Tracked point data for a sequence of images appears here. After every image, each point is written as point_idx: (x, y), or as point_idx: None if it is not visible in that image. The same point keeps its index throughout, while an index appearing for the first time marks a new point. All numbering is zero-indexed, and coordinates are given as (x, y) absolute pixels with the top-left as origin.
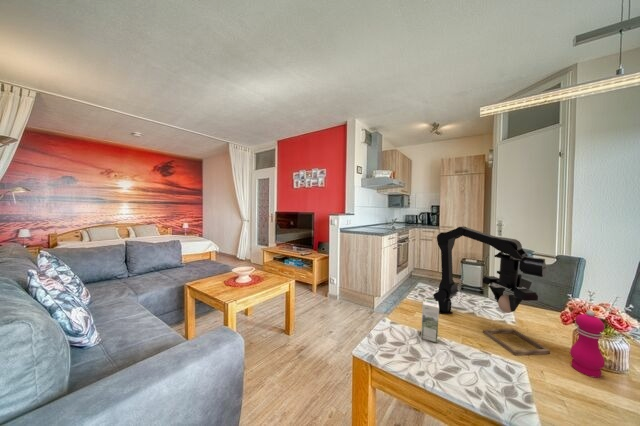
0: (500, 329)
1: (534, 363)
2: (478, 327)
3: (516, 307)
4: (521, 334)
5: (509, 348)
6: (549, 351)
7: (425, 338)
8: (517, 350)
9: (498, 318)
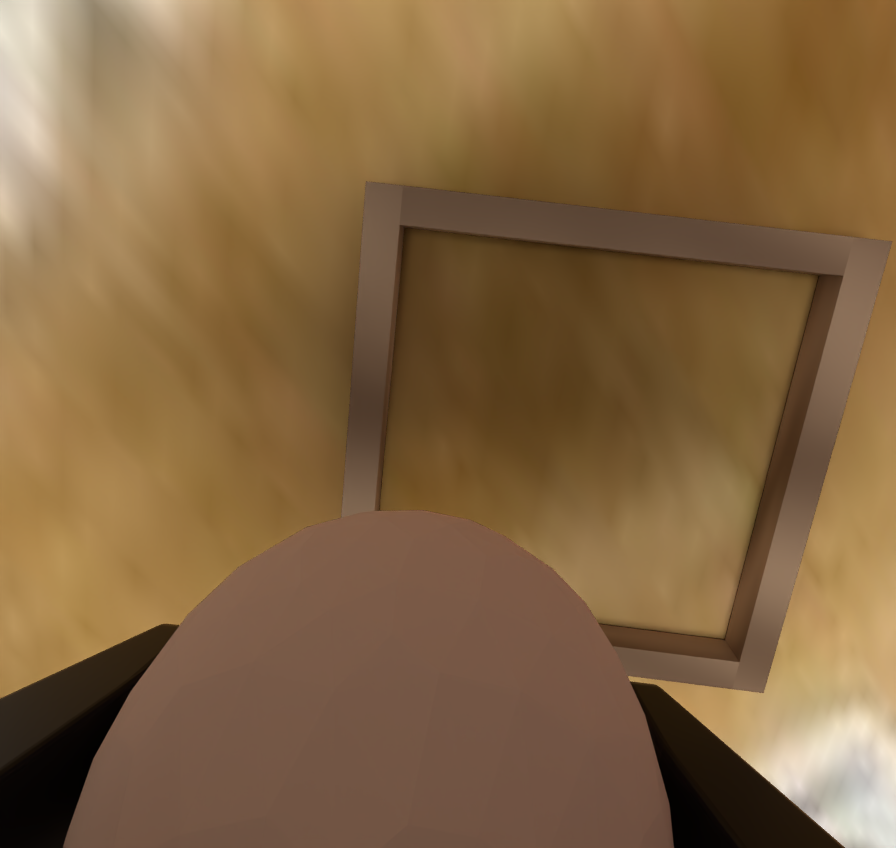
0: (358, 406)
1: (892, 603)
2: (234, 568)
3: (772, 811)
4: (514, 223)
5: (697, 684)
6: (881, 252)
7: None
8: (751, 640)
9: (8, 15)
